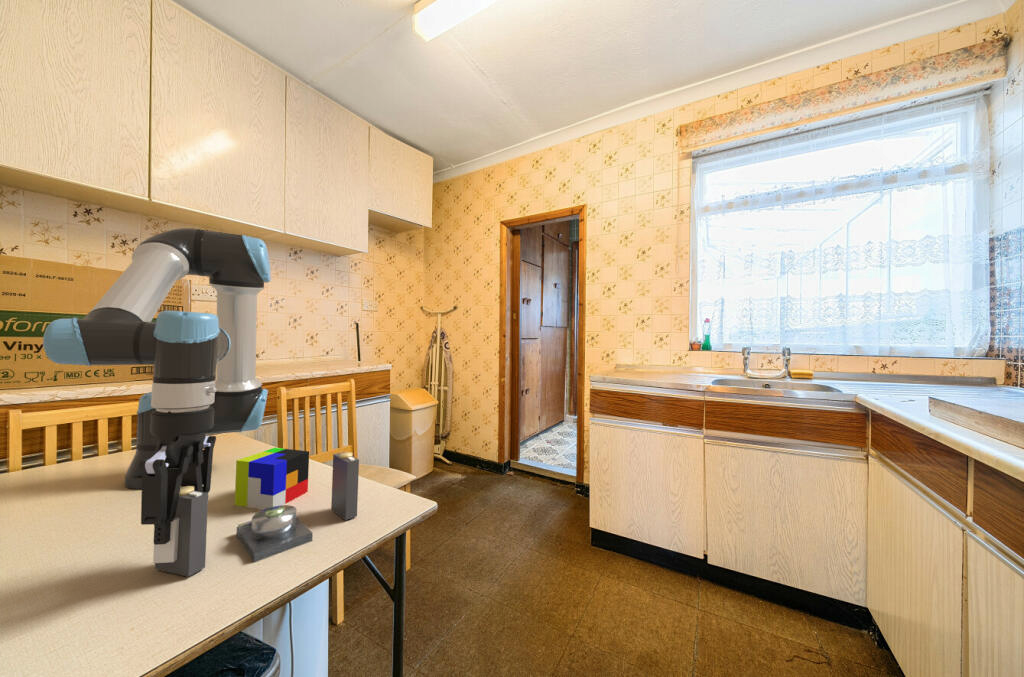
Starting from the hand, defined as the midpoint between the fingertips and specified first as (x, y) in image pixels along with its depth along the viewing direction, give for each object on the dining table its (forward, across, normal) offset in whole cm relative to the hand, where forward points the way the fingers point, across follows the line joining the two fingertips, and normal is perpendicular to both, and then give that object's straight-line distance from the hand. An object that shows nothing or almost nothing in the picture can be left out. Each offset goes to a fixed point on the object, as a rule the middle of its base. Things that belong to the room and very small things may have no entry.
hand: (176, 551), depth 57 cm
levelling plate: (+3, +8, -11) cm, 14 cm away
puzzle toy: (+3, +26, -3) cm, 26 cm away
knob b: (+3, +16, -21) cm, 27 cm away
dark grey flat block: (+3, 0, -1) cm, 3 cm away
